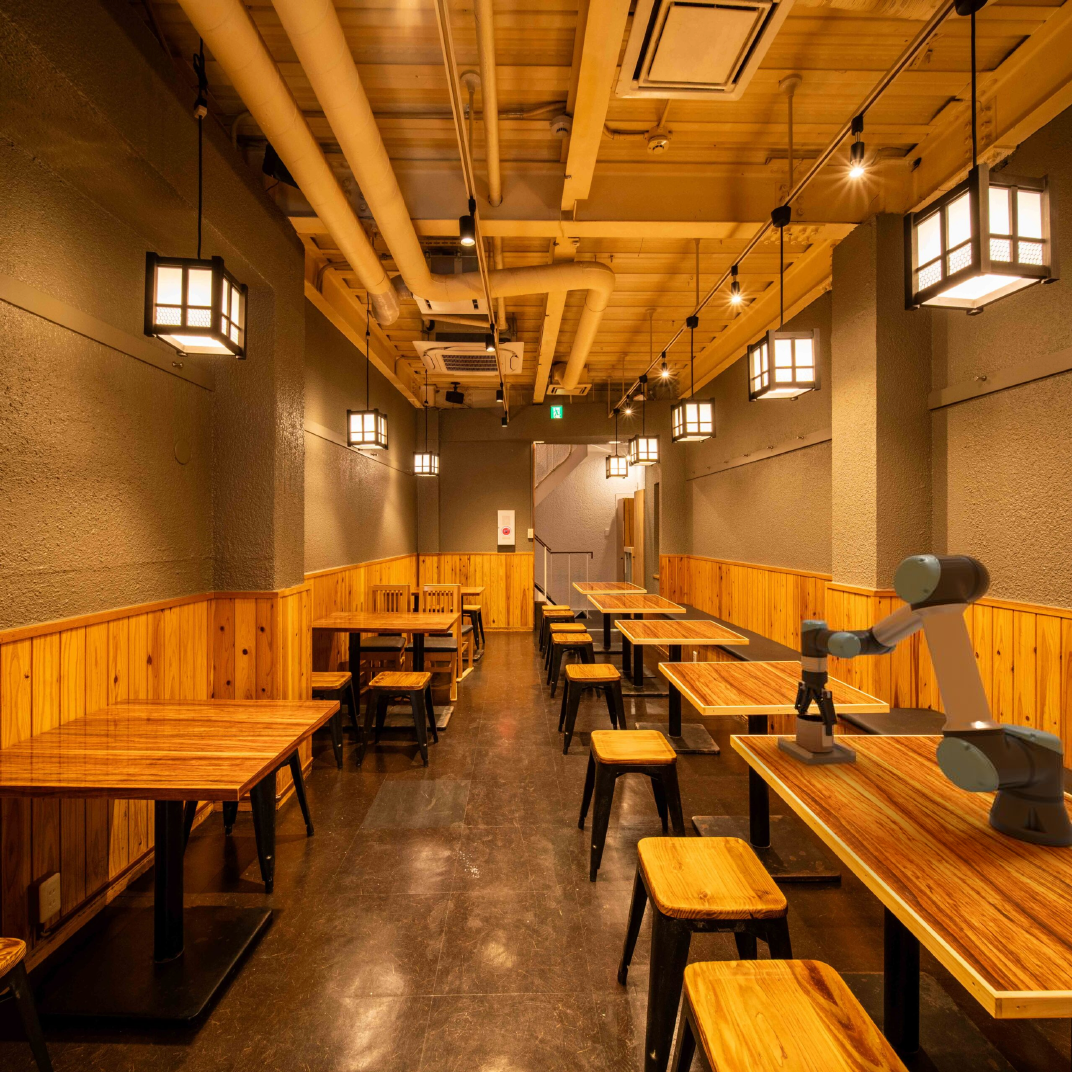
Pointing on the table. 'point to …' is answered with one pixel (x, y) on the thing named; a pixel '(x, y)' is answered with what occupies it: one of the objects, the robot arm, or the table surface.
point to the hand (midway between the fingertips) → (815, 739)
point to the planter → (811, 733)
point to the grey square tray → (834, 757)
